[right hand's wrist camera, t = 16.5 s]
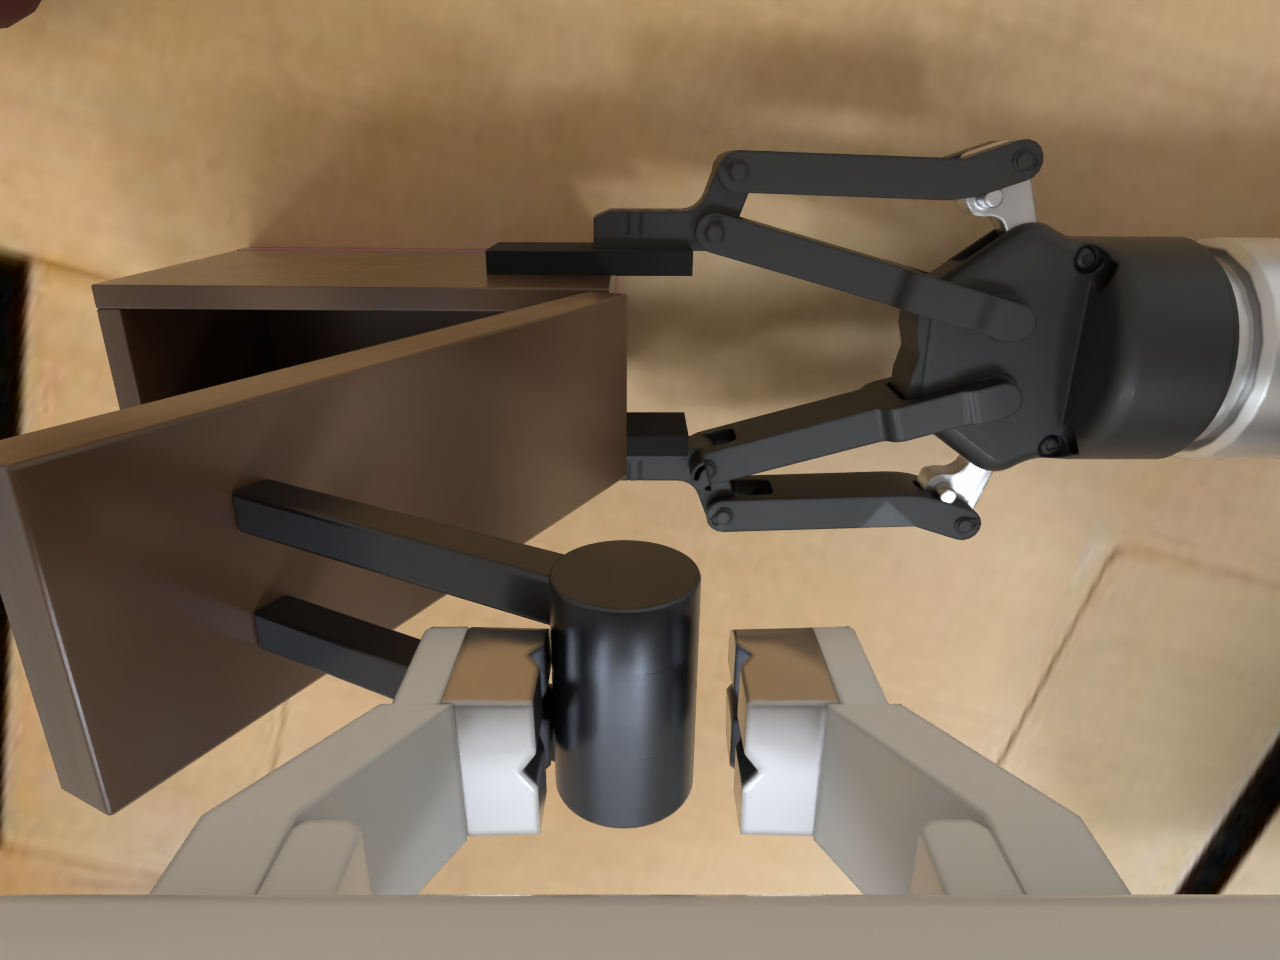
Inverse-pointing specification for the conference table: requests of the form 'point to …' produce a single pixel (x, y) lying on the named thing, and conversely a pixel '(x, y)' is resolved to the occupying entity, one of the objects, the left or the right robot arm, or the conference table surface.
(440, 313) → the chest
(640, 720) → the lid
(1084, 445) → the left robot arm
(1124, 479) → the conference table surface
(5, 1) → the potato
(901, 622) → the conference table surface
